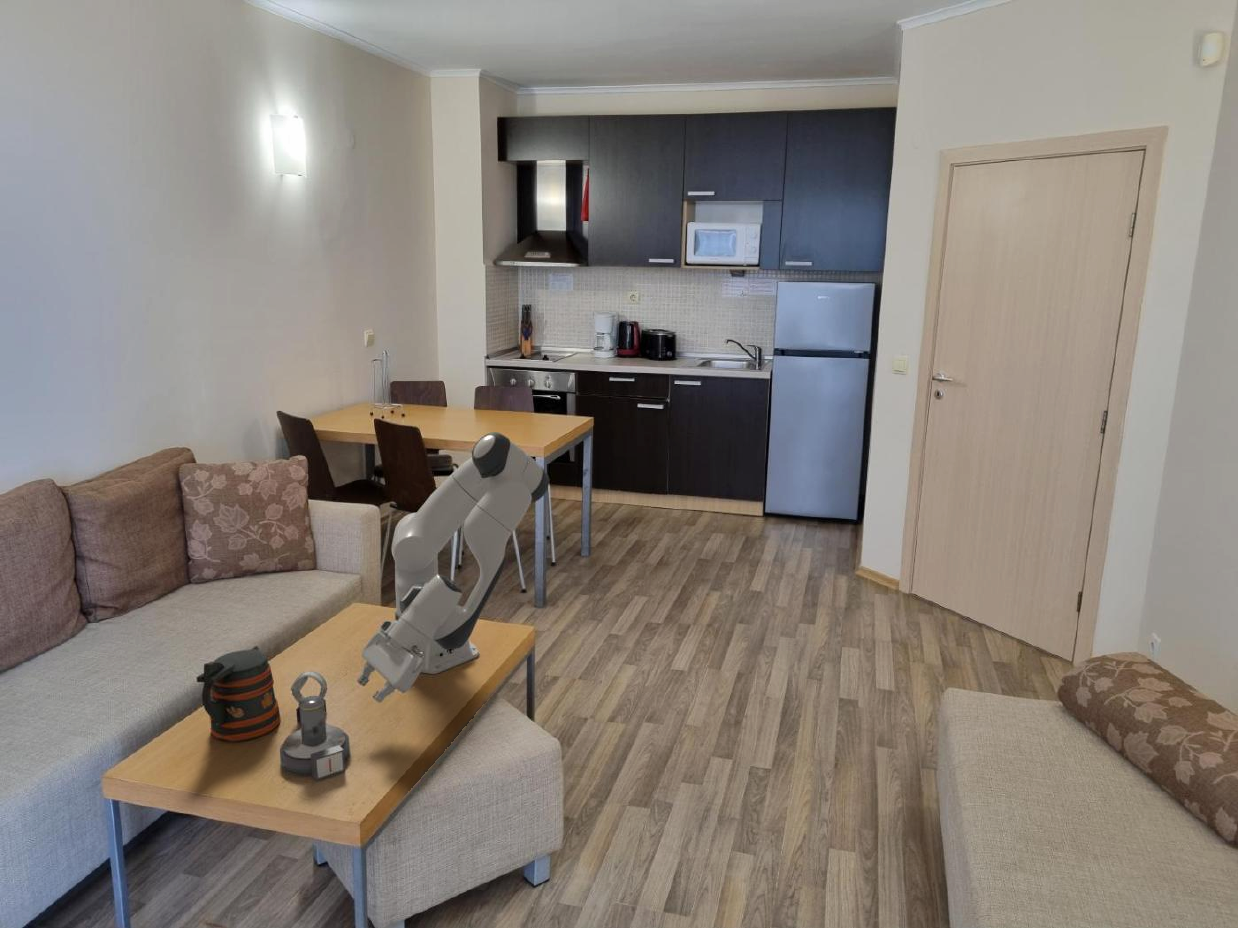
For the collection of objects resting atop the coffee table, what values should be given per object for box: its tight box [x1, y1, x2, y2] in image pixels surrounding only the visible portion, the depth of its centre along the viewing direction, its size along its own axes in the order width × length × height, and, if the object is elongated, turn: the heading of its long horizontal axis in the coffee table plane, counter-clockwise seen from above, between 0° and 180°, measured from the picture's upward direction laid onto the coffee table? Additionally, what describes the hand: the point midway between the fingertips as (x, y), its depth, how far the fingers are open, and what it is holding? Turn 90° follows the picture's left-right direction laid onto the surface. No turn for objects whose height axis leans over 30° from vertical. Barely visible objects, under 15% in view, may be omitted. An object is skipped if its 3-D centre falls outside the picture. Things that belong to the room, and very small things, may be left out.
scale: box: [279, 732, 351, 782], centre depth 186 cm, size 14×16×5 cm
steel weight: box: [298, 695, 327, 746], centre depth 186 cm, size 5×5×9 cm
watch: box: [290, 670, 328, 723], centre depth 203 cm, size 6×8×11 cm
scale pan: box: [282, 724, 346, 760], centre depth 187 cm, size 13×13×1 cm
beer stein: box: [196, 645, 282, 742], centre depth 196 cm, size 19×15×20 cm
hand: (368, 691), depth 193 cm, fingers open, 8 cm apart
